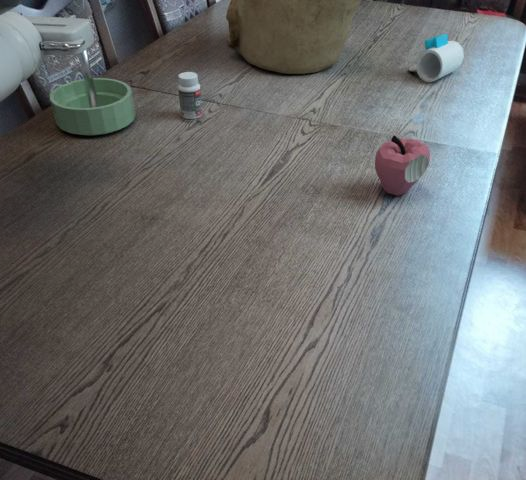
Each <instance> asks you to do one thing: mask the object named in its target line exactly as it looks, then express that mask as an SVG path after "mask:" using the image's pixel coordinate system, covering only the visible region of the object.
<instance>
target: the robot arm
mask: <svg viewBox="0 0 526 480" xmlns="http://www.w3.org/2000/svg"><path fill="white" fill-rule="evenodd" d="M22 1H23V0H0V103H2V102H3V101H4V100H6V99H7V98H8V97H10V96H11V95H12V94H13V93H14V92H15V91H16V90H17V89H18V88H19V86H20V85H21V83H23V82H25V81H26V80H28V79H29V78H30V77H31V76H32V75H33V74H34V73H35V72H36V71H37V70H38V69H40V67H41V66H42V64H43V63H44V60H45V57H46V56H65V57H69V56H77V55H78V54H80V53H82V52H83V51H85V50H86V49H87V50H88V49H89V48H91V47H92V46H93V45H94V44H95V34H94V29H93V25H92V23H91V21H90V20H89V19H87V18H79V17H77V16H76V15H75V14H66V15H65V16H63V17H59V16H58V17H57V16H38V15H37V16H36V15H23V13H22V12H15V11H12V10H13V9H15V8H17V7H18V6H20V5H21V4H22Z"/></svg>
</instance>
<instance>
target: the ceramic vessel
mask: <svg viewBox="0 0 526 480" xmlns="http://www.w3.org/2000/svg"><path fill="white" fill-rule="evenodd" d="M362 1H363V0H230V2H229V5H228V7H227V10H226V15H225V19H226V21H227V23H228V33H229V34H228V37H227V39H226V44H227V47H228V48H229V49H235V48H236V51H237V52H238V53H239V54H240V56H242V57H243V59H244V60H245V61H246V62H247V63H249V64H250V65H253V66H255V67H257V68H259V69H263V70H267V71H272V72H275V73H280V74H286V75H287V74H288V75H290V74H291V75H292V74H293V75H295V74H296V75H301V74H302V75H305V74H312V73H313V74H314V73H318V72H322V71H325V70H327V69H329V68H331V67H333V66H334V65H335V64H336V63H337V62H338V60H339V58H340V57H341V55H342V52H343V50H344V47H345V44H346V42H347V39H348V37H349V34H350V31H351V25H352V22H353V18H354V16H355V14H356V12H357V10H358V8H359V7H360V4H361V3H362Z"/></svg>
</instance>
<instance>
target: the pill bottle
mask: <svg viewBox="0 0 526 480" xmlns="http://www.w3.org/2000/svg"><path fill="white" fill-rule="evenodd" d="M177 76H178V83H179V84H178V86H177V90H178V91H177V92H178V99H179V100H178V101H179V109H180V110H179V111H180V116H181V117H182V118H183V119H187V120H197V119H199V118H201V117H202V116H203V105H202V91H201V85H200V83H199V77H198V73H196V72H194V71H185V72H184V71H183V72H181V73H179V74H178V75H177Z"/></svg>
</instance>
